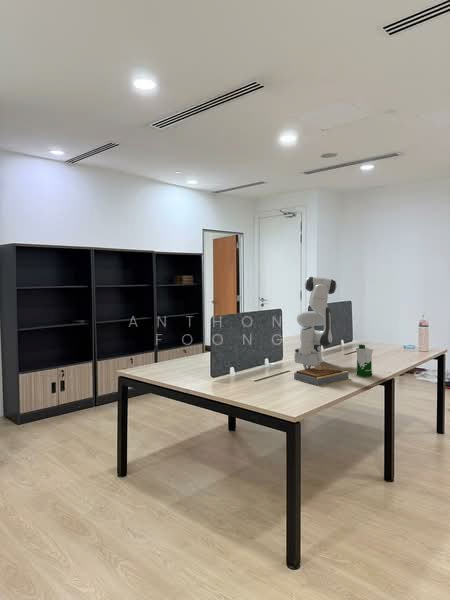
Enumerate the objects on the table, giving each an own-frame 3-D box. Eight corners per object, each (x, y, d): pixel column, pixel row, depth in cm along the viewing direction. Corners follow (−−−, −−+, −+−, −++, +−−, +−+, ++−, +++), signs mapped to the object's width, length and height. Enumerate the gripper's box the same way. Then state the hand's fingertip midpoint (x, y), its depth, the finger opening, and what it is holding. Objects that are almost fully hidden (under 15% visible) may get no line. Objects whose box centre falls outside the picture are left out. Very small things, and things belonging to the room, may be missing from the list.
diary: (320, 374, 283) (320, 366, 283) (342, 379, 268) (342, 370, 268) (295, 379, 270) (295, 370, 270) (317, 385, 255) (317, 375, 254)
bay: (294, 379, 268) (294, 372, 268) (324, 372, 285) (324, 366, 284) (318, 385, 252) (318, 378, 252) (348, 378, 268) (348, 371, 268)
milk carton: (364, 373, 281) (364, 344, 280) (374, 376, 273) (374, 345, 272) (354, 375, 277) (354, 345, 276) (364, 378, 269) (364, 347, 268)
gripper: (322, 352, 271) (322, 373, 271) (299, 348, 287) (299, 368, 288) (315, 353, 267) (315, 374, 268) (292, 349, 284) (293, 369, 284)
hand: (307, 371), depth 278 cm, fingers closed
